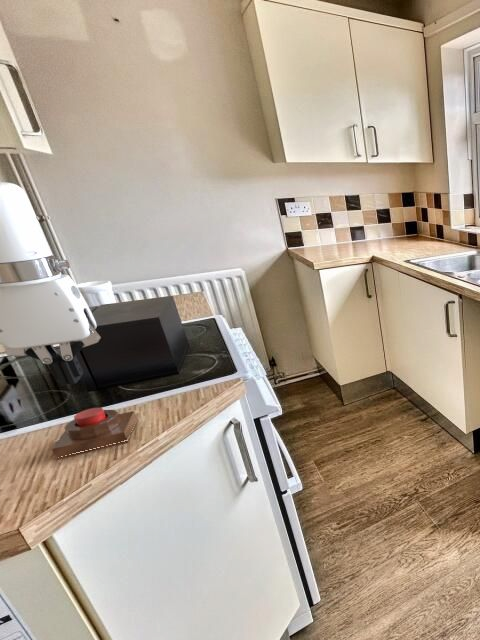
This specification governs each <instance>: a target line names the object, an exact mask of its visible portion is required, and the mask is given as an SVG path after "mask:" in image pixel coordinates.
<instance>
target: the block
mask: <svg viewBox="0 0 480 640" xmlns="http://www.w3.org/2000/svg"><path fill="white" fill-rule="evenodd" d="M103 411H104V413H105V415H106V417H107V418H106V419H104V420H102V421H101V422H98V423H95V424H93V425H88V426H84V427H79V426H78V425H77V423H76V421H75V419H74V418H73V420H71V421H69V422H67V424H66V425H65V426H64V432H63V433H62V434H61V436H60V437H59V438H58V440H57V441H56V443H55V444H54V445H53V447H52V448H51V451H52V453H53V454H54V456H55V458H56V460H57V461H60V460H63V459H68V458H72V457H76V456H81V455H84V454H88V453H92V452H97V451H100V450H104V449H109V448H113V447H116V446H117V447H118V446H121V445H124V444H125V445H126V444H129V442H130V441H131V438H132V436H133V434H134V431H135V429H136V427H137V425H138V423H139V419H138V417H137V414H136V412H135V410H132V411H128V412H123V413H119V412H118V411H116V410H115V409H103ZM136 421H137V422H136ZM135 423H136V424H135ZM134 425H135V426H134ZM133 427H134V428H133ZM132 429H133V430H132ZM131 431H132V432H131ZM129 435H130V437H129ZM128 437H129V439H128ZM127 439H128V441H125V442H121V441H124V440H127ZM118 442H120V443H118ZM113 443H116V444H113ZM109 444H112V445H109ZM106 445H108V446H106ZM101 446H104V447H101ZM97 447H100V448H97ZM93 448H96V449H93ZM89 449H92V450H89ZM85 450H88V451H85ZM80 451H84V452H80ZM76 452H80V453H76ZM72 453H76V454H72ZM69 454H71V455H69ZM65 455H67V456H65ZM61 456H63V457H61ZM58 457H59V458H58Z"/></svg>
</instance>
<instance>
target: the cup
mask: <svg viewBox="0 0 480 640" xmlns="http://www.w3.org/2000/svg"><path fill="white" fill-rule="evenodd" d="M75 285H76V286H77V288H78V289H79V291H80V293H81V294H82V296H83V298H84V300H85V301H86V303H87V305H88V307H93V306H100V305H103V304H111V303H117V300H116V297H115V294H114V291H113V285H112V281H110V280H93V281H86V282H82V283H78V284H75Z"/></svg>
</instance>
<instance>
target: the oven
mask: <svg viewBox="0 0 480 640" xmlns="http://www.w3.org/2000/svg"><path fill="white" fill-rule="evenodd" d="M92 315H93V317H94V319H95V321H96V325H97V327H96V329H95V331H96V332H97V333H98V334H99V336H100V337H101V339H100V340H99V342H97V343H95V344H92V345H89V346H86V347H83V348H82V349H81V350H82V352H83V354H84V356H85V359H86V361H87V363H88V365H89V368H90V370H91V372H92V374H93V377H94V379H95V381H96V383H97V386H98V388H99V389H98V390H99V391H103V390H106V389H112V388H118V387H122V386H127V385H132V384H137V383H138V384H139V383H143V382H147V381H153V380H158V379H162V378H168V377H173V376H178V375H180V374H181V371H182V368H183V365H184V362H185V360H186V357H187V354H188V351H189V350H190V349H189V348H190V342H189V339H188V336H187V334H186V331H185V328H184V325H183V323H182V318H181V316H180V314H179V311H178V307H177V304H176V301H175V298H174V295H168V296H159V297H152V298H143V299H137V300H136V299H135V300H128V301H127V300H126V301H119V302H116V303H111V304H103V305H100V306H99V307H98V308H97V309H96V310H94V311H93V312H92Z"/></svg>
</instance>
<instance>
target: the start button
mask: <svg viewBox="0 0 480 640" xmlns="http://www.w3.org/2000/svg"><path fill="white" fill-rule="evenodd" d="M103 410H104V409H103V408H102V407H92V408H88V409H84V410H82V411H80V412H78V413H77V414H75V415H74V418H73V420H74V419H75V421H76V423H77V425H78V426H79V427H84V426H88V425H93V424H95V423H98V422H101V421H102V420H104V419H106V418H107V417H106V415H105V413H104V411H103Z"/></svg>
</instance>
